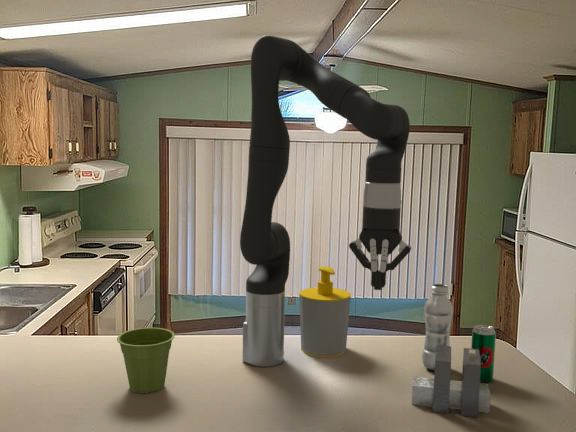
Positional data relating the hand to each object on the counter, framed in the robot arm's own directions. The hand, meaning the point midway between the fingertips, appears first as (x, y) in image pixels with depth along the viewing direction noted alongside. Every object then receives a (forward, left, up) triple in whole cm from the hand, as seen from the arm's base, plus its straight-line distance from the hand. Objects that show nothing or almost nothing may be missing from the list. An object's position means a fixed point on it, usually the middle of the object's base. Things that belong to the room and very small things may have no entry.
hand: (378, 289), depth 123 cm
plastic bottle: (+12, +19, -23) cm, 32 cm away
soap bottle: (-16, +24, -23) cm, 37 cm away
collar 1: (+14, 0, -23) cm, 27 cm away
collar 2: (+19, 0, -23) cm, 30 cm away
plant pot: (-47, -11, -23) cm, 53 cm away
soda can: (+22, +16, -23) cm, 36 cm away
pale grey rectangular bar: (+15, +1, -23) cm, 27 cm away
